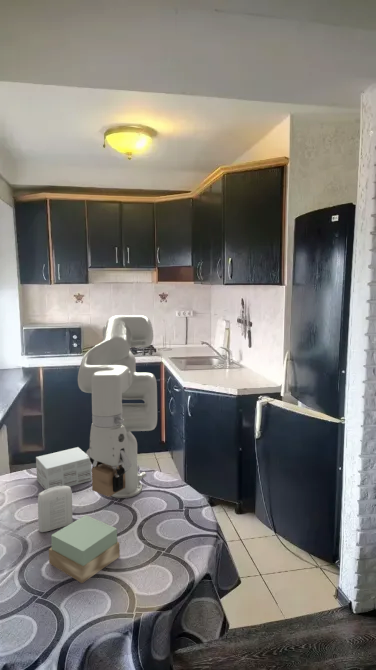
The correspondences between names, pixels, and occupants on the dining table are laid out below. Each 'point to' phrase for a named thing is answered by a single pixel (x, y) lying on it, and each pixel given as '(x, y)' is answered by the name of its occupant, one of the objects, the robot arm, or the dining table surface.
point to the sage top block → (84, 539)
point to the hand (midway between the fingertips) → (108, 485)
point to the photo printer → (54, 508)
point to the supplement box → (63, 468)
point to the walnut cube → (104, 479)
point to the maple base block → (87, 570)
